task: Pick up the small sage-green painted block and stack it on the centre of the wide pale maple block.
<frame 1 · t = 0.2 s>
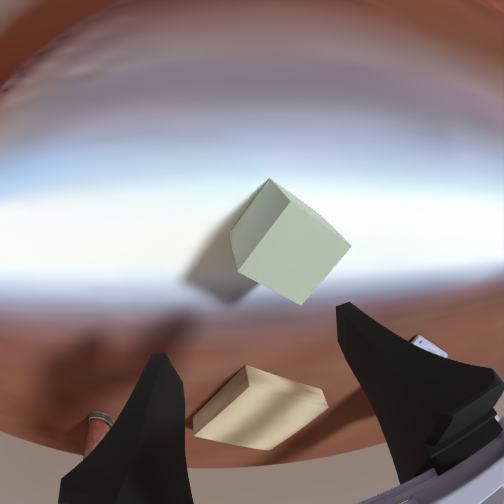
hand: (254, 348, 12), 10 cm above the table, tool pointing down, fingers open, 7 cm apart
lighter: (109, 427, 29), on the table
sage block: (275, 223, 20), on the table
maple block: (256, 402, 30), on the table
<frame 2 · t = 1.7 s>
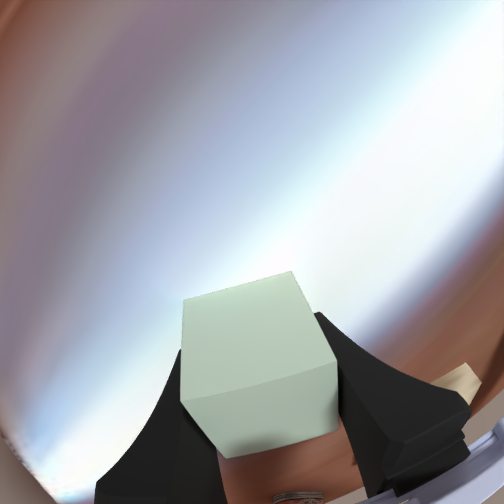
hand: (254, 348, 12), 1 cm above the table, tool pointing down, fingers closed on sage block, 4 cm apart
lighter: (298, 494, 28), on the table
sage block: (249, 326, 13), on the table, touching gripper
maple block: (408, 413, 22), on the table
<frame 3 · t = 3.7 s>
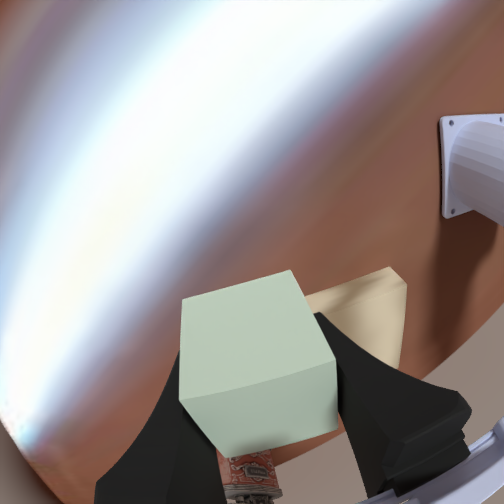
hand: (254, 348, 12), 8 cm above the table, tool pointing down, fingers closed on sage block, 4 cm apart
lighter: (241, 440, 31), on the table
sage block: (248, 325, 13), point 7 cm above the table, touching gripper
maple block: (335, 330, 24), on the table
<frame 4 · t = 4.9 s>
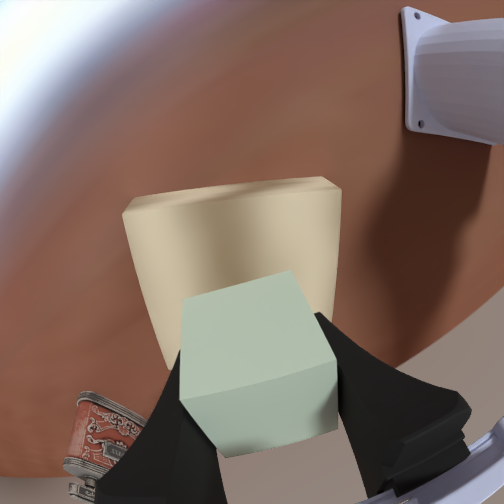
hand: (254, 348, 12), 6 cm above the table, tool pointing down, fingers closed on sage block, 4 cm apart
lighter: (117, 412, 23), on the table
sage block: (249, 325, 13), point 5 cm above the table, touching gripper
maple block: (236, 265, 18), on the table
when the fingers open (5 cm above the table, at t = 5.6 s): sage block drops 1 cm, resting on maple block.
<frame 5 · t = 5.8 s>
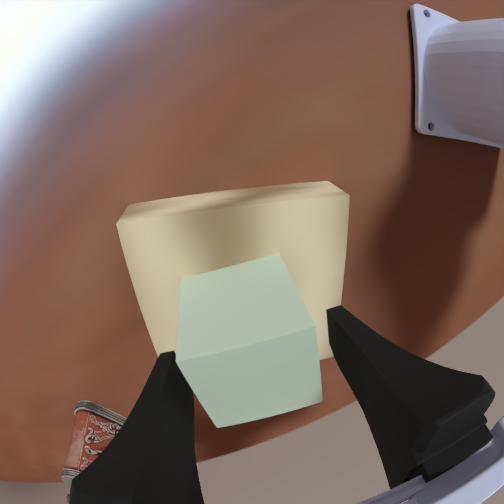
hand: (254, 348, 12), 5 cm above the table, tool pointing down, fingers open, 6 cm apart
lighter: (116, 421, 22), on the table
sage block: (241, 305, 14), point 2 cm above the table, touching maple block
maple block: (237, 274, 17), on the table, touching sage block
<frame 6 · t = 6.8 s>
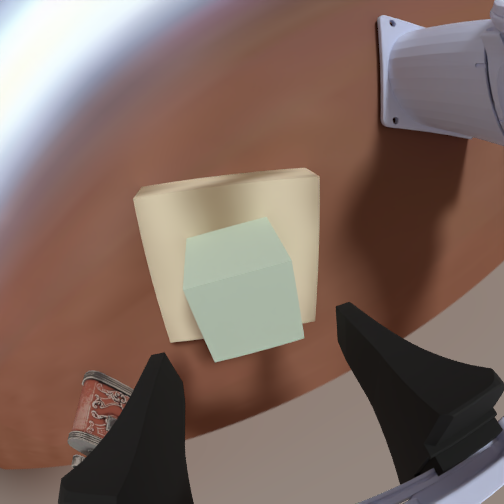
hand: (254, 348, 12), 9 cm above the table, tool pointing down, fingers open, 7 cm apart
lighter: (120, 392, 25), on the table
sage block: (236, 262, 18), point 2 cm above the table, touching maple block
maple block: (231, 247, 20), on the table, touching sage block
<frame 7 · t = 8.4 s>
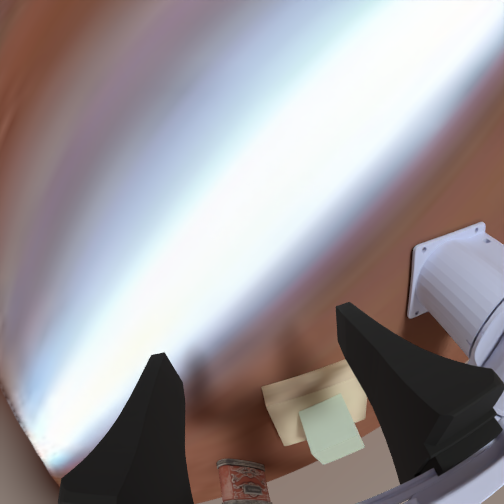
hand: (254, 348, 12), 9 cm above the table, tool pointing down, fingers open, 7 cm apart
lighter: (240, 464, 36), on the table
sage block: (324, 411, 27), point 2 cm above the table
maple block: (314, 394, 30), on the table
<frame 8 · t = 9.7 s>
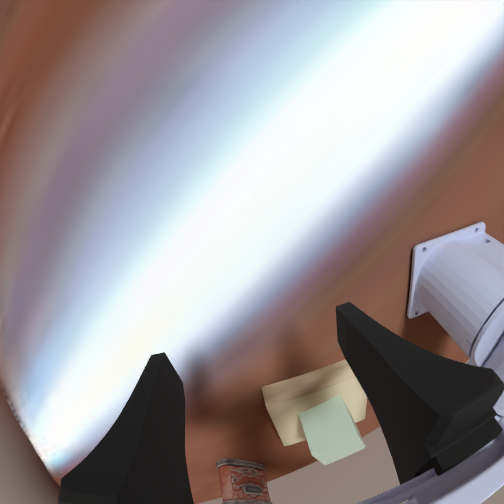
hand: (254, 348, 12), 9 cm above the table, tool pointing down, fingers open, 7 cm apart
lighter: (240, 463, 36), on the table
sage block: (325, 412, 27), point 2 cm above the table
maple block: (314, 394, 30), on the table
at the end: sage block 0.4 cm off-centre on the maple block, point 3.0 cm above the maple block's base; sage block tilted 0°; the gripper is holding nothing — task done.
